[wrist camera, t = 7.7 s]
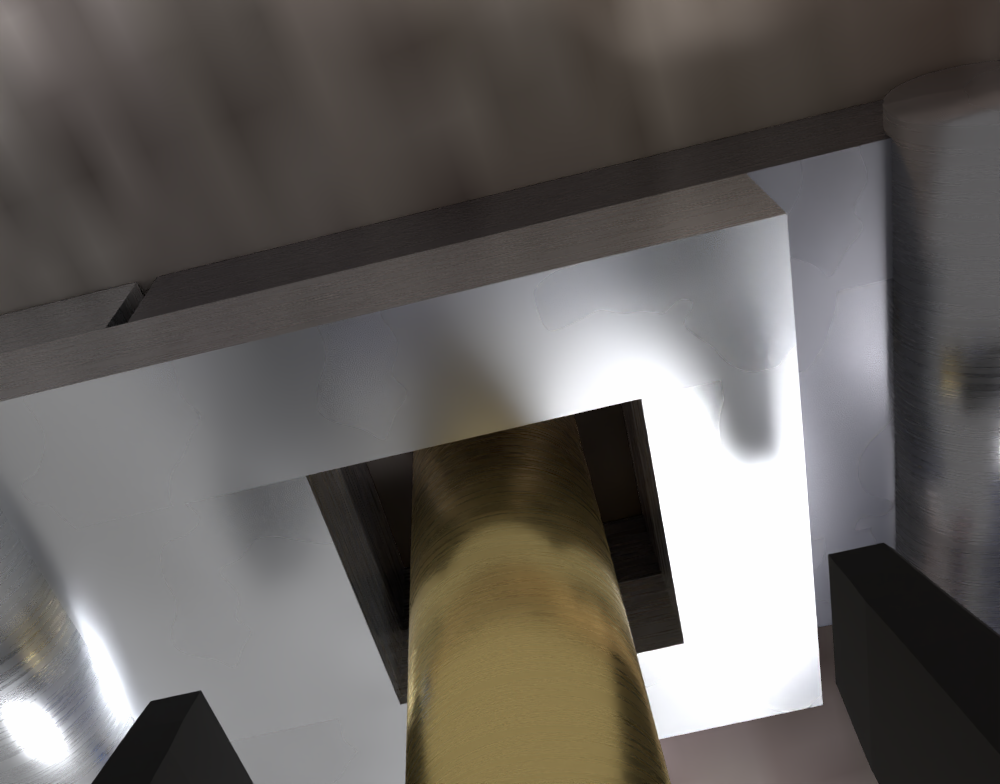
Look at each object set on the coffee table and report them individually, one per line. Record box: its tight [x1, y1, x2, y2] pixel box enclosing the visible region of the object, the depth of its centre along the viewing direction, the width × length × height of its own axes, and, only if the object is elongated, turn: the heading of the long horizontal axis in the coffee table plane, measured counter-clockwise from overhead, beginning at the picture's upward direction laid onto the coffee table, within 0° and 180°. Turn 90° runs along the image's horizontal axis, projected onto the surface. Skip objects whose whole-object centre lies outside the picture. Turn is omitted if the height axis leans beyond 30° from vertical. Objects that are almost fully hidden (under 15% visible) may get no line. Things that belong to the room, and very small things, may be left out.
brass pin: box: [405, 414, 671, 784], centre depth 11 cm, size 3×3×8 cm
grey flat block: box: [128, 60, 1000, 635], centre depth 14 cm, size 9×14×3 cm, turn 103°
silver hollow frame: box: [0, 173, 823, 784], centre depth 13 cm, size 9×14×4 cm, turn 103°
